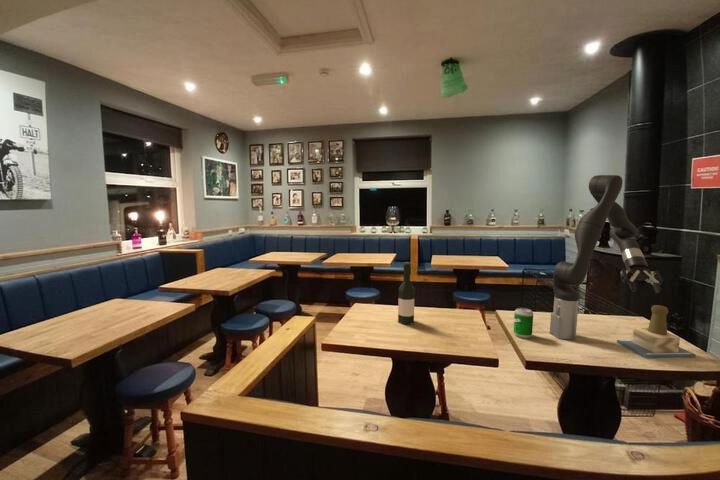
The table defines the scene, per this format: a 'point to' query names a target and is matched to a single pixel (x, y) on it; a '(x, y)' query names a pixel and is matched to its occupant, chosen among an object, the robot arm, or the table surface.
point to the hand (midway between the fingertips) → (646, 291)
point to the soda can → (523, 322)
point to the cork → (658, 320)
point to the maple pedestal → (655, 341)
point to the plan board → (648, 354)
